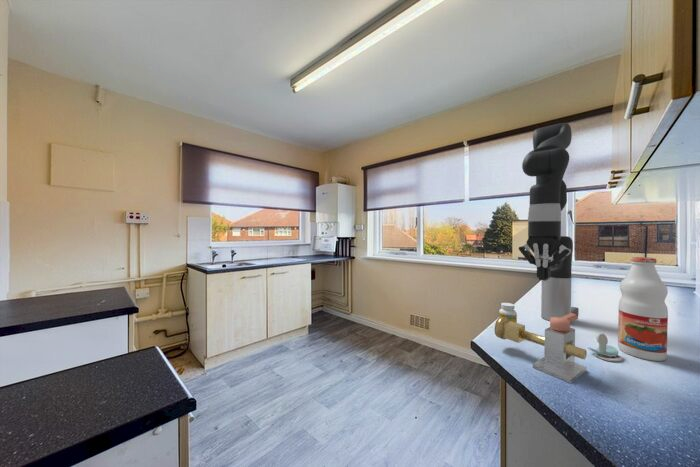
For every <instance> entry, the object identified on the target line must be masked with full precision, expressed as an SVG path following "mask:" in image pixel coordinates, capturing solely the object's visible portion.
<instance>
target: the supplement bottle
mask: <svg viewBox="0 0 700 467" xmlns="http://www.w3.org/2000/svg"><path fill="white" fill-rule="evenodd" d="M500 304H501V305H500V306H501V308H500V309H499V310H498V318H499V317H505V318H508V319H509V320H510V321H512V322H516V323H518V322H517V319H518V318H517V317H518V313H517V311H516V310H515V304H513V303H511V302H510V303H509V302H501V303H500Z"/></svg>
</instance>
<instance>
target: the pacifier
mask: <svg viewBox="0 0 700 467" xmlns="http://www.w3.org/2000/svg"><path fill="white" fill-rule="evenodd" d="M596 341H597V343H598V348H597V349H595V348H591V347H587V349H588V350H590V351H592V352H593V353H595V354H596V357H597V358H599V359H601V360H603V361H607V362H615V363H617V362H622V361H623V360H624V358H623V357H622V356H620V354H619V350H618V349H617V348H616V347H615V346H612V345H609V344H608V343H609V341H608V337H607V336H606V335H605V334H604V333H599V334H597V335H596ZM611 357H613V358H611ZM614 357H615V358H614Z"/></svg>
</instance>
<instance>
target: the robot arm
mask: <svg viewBox="0 0 700 467" xmlns="http://www.w3.org/2000/svg"><path fill="white" fill-rule="evenodd" d="M572 136H573V134H572V127H571V125H570V123H567V122H560V123H556V124H552V125H546V126H544V127H538V128H536V129H535V130H534V132H533V135H532V147H533V149H532V150H531V151H529V152H528V153H527V154H526V155H525V157H524V158H523V160H522V164H521V168H522V172H523V173H524V174H525V175H526V176H528V177H535V184H533V185H532V186H531V187H530V189H529V208H528V214H527V221H528V222H527V227H528V228H527V237H528V239H527V240H526V243H525V244H524V245H522V246H519V247H518V251H519V252H520V253H521V254H522V256H523V257H524V258H525V259H526V261H527V262H528V263H529V264H530V265H534V266H535V267H536V277H537V278H538V280H540V281H541V294H540V295H541V296H540V298H541V305H540V306H541V309H540V314H541V315H540V316H541V318H542V319H544V320H546V321H549V322H550V318H551V317H559V318H561V317H563V316H565V315H567V314H570V313H571V307H572V263H573V259H572V258H573V251H574V242H573V239H572V237H571V236H564V235H562V211H563V210H564V208H565V206H566V205H567V201H568V200H567V199H568V196H567V195H568V194H567V193H568V191H567V190H568V189H567V183H565V181H564V180H563V179H564V176H565V174H566V172H567V171H566V170H567V168H568V166H569V162H570V154H569V152H568V150H567V149H568V148H569V146H570V145H571V142H572ZM532 252H533V253H532ZM533 254H534V255H533Z"/></svg>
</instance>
